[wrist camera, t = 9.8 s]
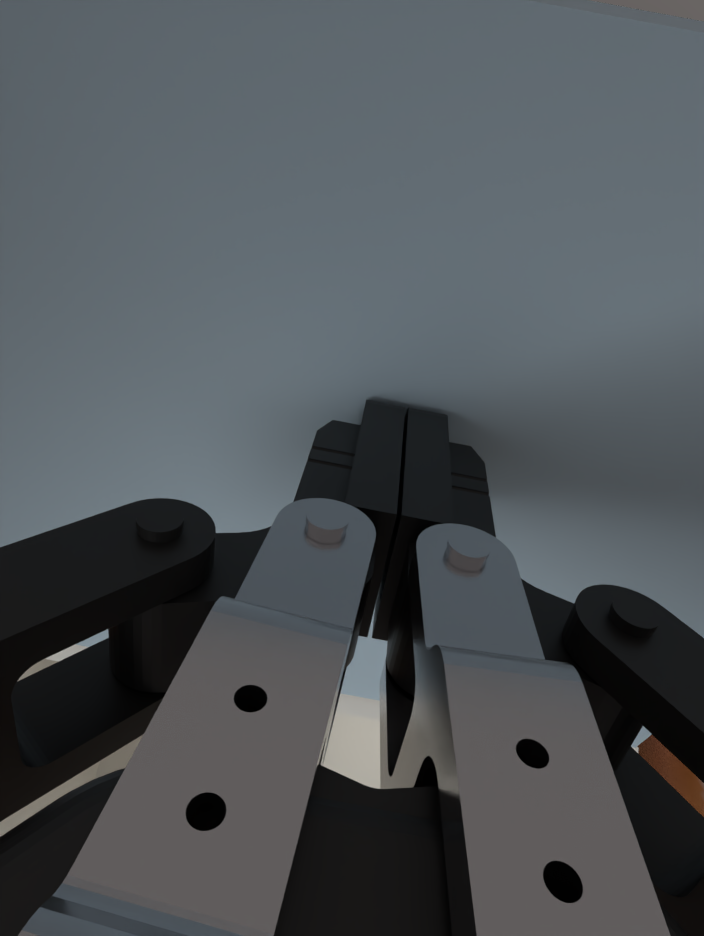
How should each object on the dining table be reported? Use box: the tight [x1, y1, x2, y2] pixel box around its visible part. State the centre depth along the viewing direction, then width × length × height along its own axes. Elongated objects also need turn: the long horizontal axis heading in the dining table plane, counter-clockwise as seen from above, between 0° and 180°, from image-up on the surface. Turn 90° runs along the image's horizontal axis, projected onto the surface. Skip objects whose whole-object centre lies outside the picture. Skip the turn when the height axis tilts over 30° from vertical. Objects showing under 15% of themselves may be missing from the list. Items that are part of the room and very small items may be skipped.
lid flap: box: [0, 0, 704, 748], centre depth 14 cm, size 18×20×1 cm
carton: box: [0, 645, 639, 837], centre depth 24 cm, size 18×20×12 cm
